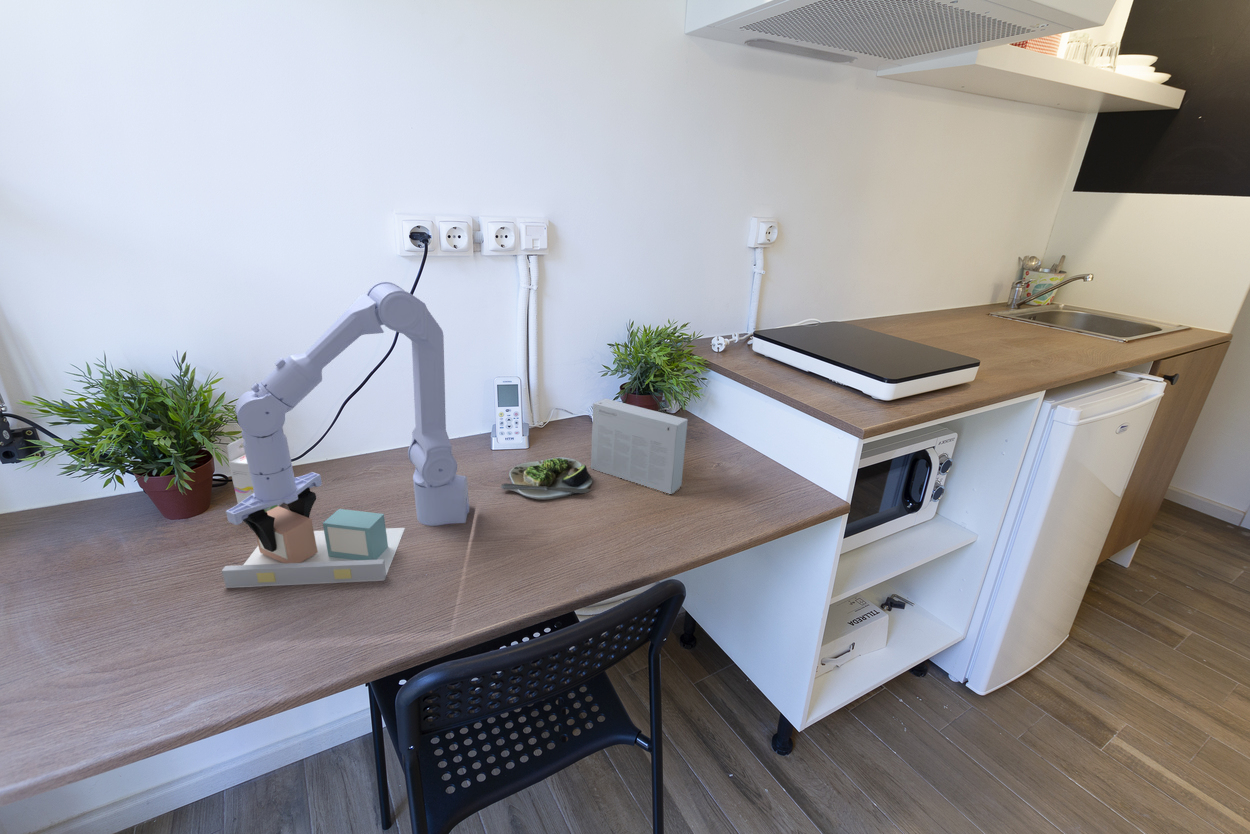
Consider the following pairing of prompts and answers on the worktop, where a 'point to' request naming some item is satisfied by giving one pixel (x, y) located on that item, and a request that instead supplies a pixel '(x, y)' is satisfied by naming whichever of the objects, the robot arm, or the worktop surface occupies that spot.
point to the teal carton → (355, 535)
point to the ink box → (241, 472)
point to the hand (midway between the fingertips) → (286, 540)
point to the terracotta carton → (291, 537)
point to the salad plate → (550, 479)
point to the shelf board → (312, 567)
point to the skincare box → (638, 444)
